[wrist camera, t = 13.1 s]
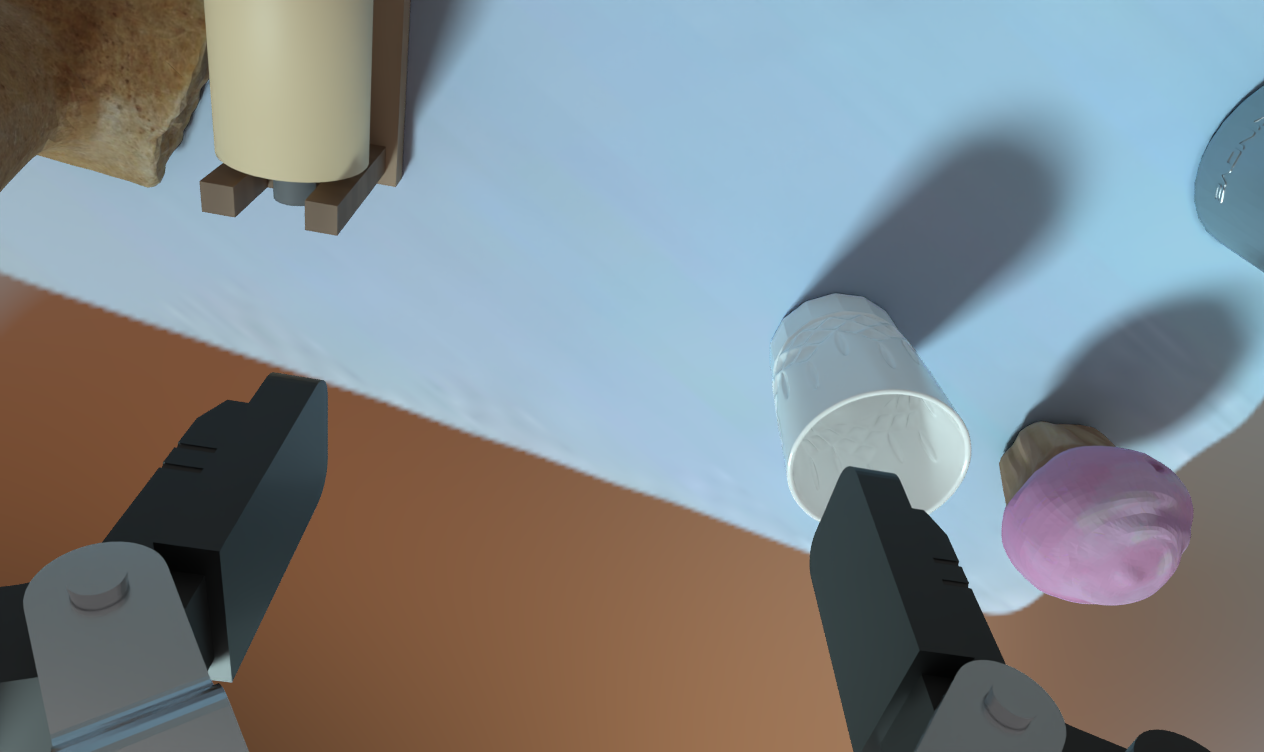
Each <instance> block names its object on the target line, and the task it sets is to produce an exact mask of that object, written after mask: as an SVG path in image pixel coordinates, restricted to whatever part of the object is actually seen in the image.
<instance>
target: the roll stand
mask: <svg viewBox="0 0 1264 752" xmlns="http://www.w3.org/2000/svg"><path fill="white" fill-rule="evenodd" d="M410 2H411V0H373V33H372V69H371V104H370V140H369V164H368V167H367V168H366V169H365V170H364V171H363V172H361V173H360V174H358V175H355V176H353V177H350V178H346V179H342V180H337V181H329V182H316V189H315V190H314V191H313V192H312V193H311V194H310V195H309V196H308V197H307V198H306V200H305V230H309V231H314V232H320V233H325V234H331V235H338V234H339V233H340V231H341V230H342V229H343V227H344V226H345V225H346V223H347V222H348V221H349V219H350V218H351V217H352V215H353V214H354V213H355V212H356V210H357V209H358V208H359V206H360V205H361V204H362V202H363V201H364V200H365V198H366V197H367V196H368V194H369V193H370V192H371V190H372V189H373V188H374V187H375V185H376V184H382V185H388V186H393V187H396V186H397V184H398V183H399V181H400V180H401V179H402V163H403V143H404V123H405V103H406V83H407V63H408V42H409V22H410ZM267 187H269V188H273V180H272V179H266V178H261V177H257V176H253V175H249V174H246V173H243V172H240V171H238V170H235V169H233V168H231V167H229V166H227V165H226V164H224V163H223V164H221V165H220V166H219V167H217V168H216V169H215V170H214V171H212V172H211V173H210V174H208V175H207V176H206V177H204V178H203V179H202V180H201V181H200V192H201V204H202V212H208V213H213V214H219V215H224V216H230V217H236V216H237V215H238V214H239V213H240V212H241V211H242V210H243V209H245V208H246V207H247V206H248V205H249V204H250V203H251V202H252V201H253V200H254V199H255V198H256V197H257V196H258V195H260V194H261V193H262V192H263V191H264V190H265V189H266V188H267Z"/></svg>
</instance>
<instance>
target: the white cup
mask: <svg viewBox="0 0 1264 752" xmlns="http://www.w3.org/2000/svg"><path fill="white" fill-rule="evenodd" d="M770 368H771V374H772V379H773V381H772V387H773V395H774V402H775V409H776V415H777V424H778V429H779V435H780V441H781V446H782V451H783V457H784V463H785V468H786V474H787V480H788V485H789V488H790V491H791V493H792V495H793V497H794V499H795V501H796V502H797V504H798V505H799V506H800V507H801V508H802V509H803V510H804V511H805V512H806V513H807V514H808V515H809V516H811V517H812V518H814V519H815V520H817V521H819V522H820V521H821V518H822V516H823V514H824V511H825V509H826V507H827V504H828V502H829V500H830V497H831V495H832V493H833V490H834V488H835V486H836V483H837V481H838V479H839V476H840V474H841V473H842V471H843V470H844V469H845V468H846V467H848V466H852V467H858V468H864V469H871V470H877V471H883V472H889V473H895V474H896V475H897V476H898V477H899V479H900V481H901V483H902V486H903V488H904V490H905V493H906V495H907V497H908V500H909V502H910V505H911V507H912V508H914V509H921V510H924V511H925V512H926V513H927V514H928V515H929V514H930V513H932V512H933V511H935V510H936V509H938V508H939V507H940V506H941V505H943V504H944V503H945V502H946V501H947V500H948V499H949V498H950V497H951V496H952V495H953V494H954V492H955V491H956V490H957V488H958V487H959V486H960V484H961V483H962V481H963V479H964V477H965V475H966V473H967V470H968V467H969V464H970V459H971V441H970V436H969V433H968V430H967V428H966V426H965V424H964V422H963V420H962V419H961V417H960V416H959V414H958V413H957V411H956V410H955V408H954V407H953V406H952V404H951V403H950V401H949V400H948V398H947V396H946V395H945V393H944V392H943V390H942V389H941V387H940V386H939V384H938V383H937V381H936V380H935V378H934V377H933V375H932V374H931V372H930V371H929V369H928V368H927V366H926V365H925V364H924V362H923V361H922V360H921V358H920V357H919V356H918V354H917V353H916V351H915V350H914V348H913V347H912V346H911V344H910V343H909V342H908V340H907V339H906V338H905V337H904V336H903V335H902V334H901V333H900V332H899V331H898V329H897V328H896V326H895V324H894V323H893V321H892V320H891V318H890V317H889V315H888V314H887V312H886V311H885V310H883V309H882V308H880V307H879V306H877V305H876V304H874V303H873V302H871V301H869V300H868V299H866V298H865V297H863V296H854V295H846V294H838V293H833V294H830V295H826V296H823V297H819V298H816V299H812V300H809V301H806V302H804V303H803V304H802V305H800V306H799V307H798V308H797V309H795V310H794V311H793V312H791V313H790V314H789V315H787V316H786V317H785V318H784V319H783V320H782V322H781V324H780V325H779V327H778V329H777V331H776V333H775V335H774V337H773V339H772V340H771V342H770Z"/></svg>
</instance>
